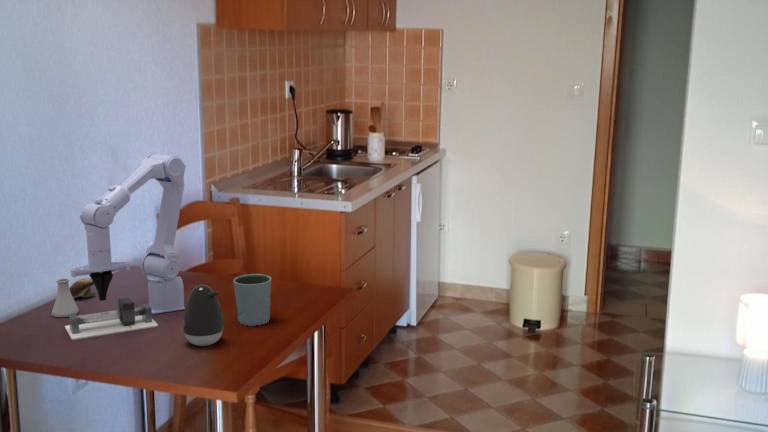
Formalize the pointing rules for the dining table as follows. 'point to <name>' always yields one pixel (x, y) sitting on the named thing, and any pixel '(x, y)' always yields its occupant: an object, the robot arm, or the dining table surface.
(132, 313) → the dark grey sliding block
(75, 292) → the mushroom
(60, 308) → the flask
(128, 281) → the dining table surface
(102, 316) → the linear slide rail
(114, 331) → the base board
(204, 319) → the dark grey penguin toy
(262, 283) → the grey-green cup
